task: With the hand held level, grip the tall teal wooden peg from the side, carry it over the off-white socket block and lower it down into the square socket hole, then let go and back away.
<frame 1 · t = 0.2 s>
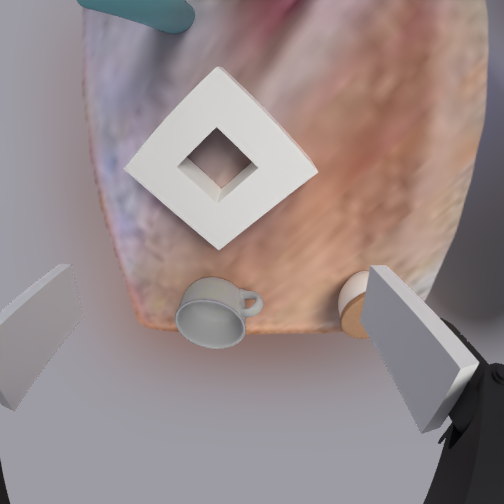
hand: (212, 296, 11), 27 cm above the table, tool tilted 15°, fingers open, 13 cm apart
teacup: (224, 289, 48), on the table
lidded jar: (361, 283, 47), on the table
peg: (176, 17, 24), on the table
socket block: (221, 155, 34), on the table
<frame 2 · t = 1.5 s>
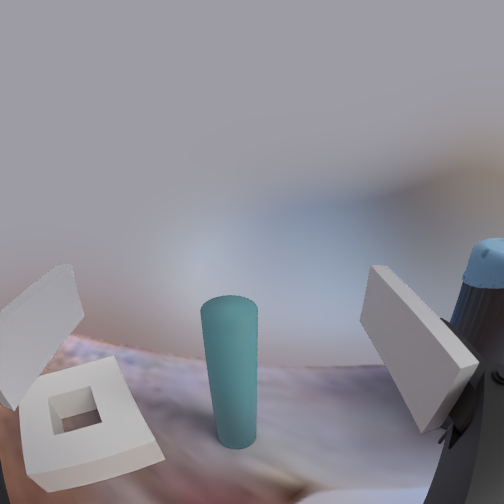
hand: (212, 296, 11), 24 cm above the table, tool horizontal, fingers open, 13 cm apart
peg: (236, 434, 29), on the table
socket block: (86, 430, 26), on the table
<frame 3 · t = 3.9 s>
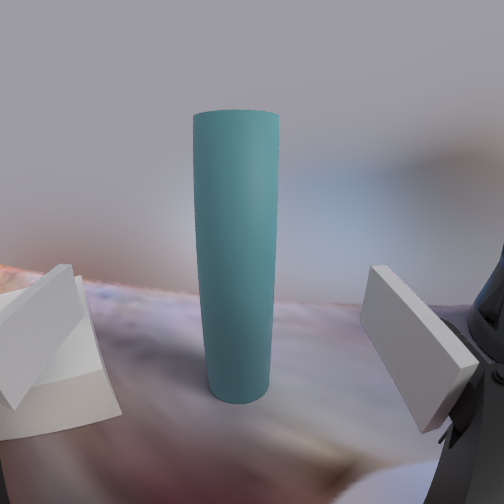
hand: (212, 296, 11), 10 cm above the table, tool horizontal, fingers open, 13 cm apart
peg: (238, 382, 20), on the table
socket block: (26, 369, 18), on the table
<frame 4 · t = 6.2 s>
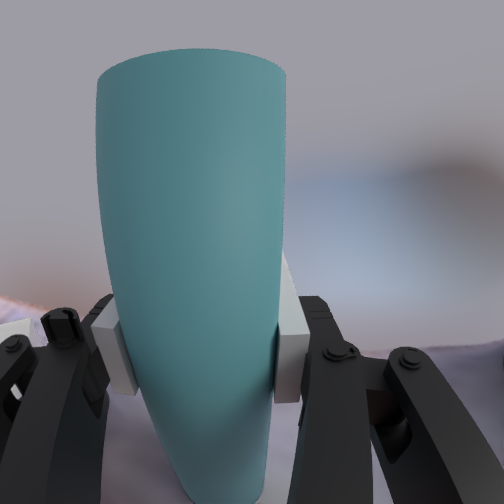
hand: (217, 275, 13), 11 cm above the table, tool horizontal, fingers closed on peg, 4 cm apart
peg: (223, 481, 12), on the table, touching gripper
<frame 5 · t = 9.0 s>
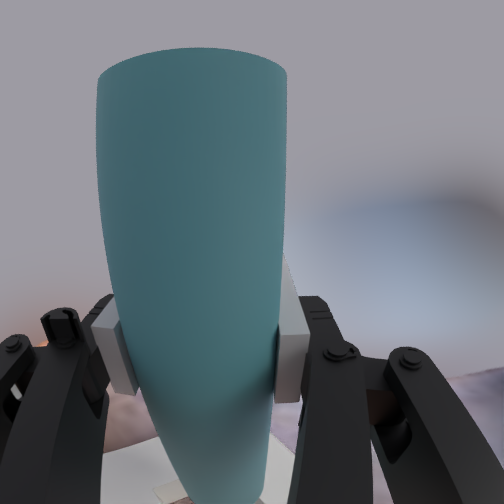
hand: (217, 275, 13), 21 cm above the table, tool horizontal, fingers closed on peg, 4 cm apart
peg: (223, 481, 12), point 10 cm above the table, touching gripper
when the fingers open (12 cm above the table, at t = 12.1 s): peg drops 1 cm, resting in socket block.
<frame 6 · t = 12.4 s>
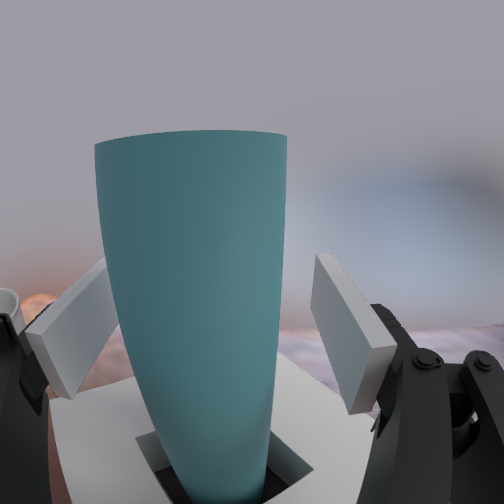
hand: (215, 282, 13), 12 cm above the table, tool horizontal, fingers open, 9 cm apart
peg: (225, 490, 12), resting in socket block
socket block: (224, 489, 12), on the table
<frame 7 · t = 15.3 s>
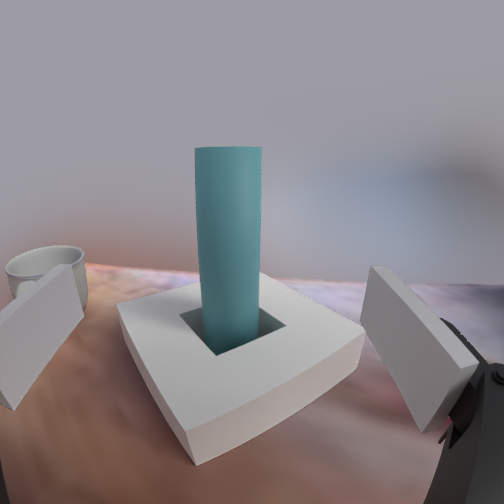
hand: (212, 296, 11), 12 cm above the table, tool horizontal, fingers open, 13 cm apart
teacup: (54, 323, 28), on the table
peg: (232, 361, 25), resting in socket block
socket block: (232, 361, 25), on the table
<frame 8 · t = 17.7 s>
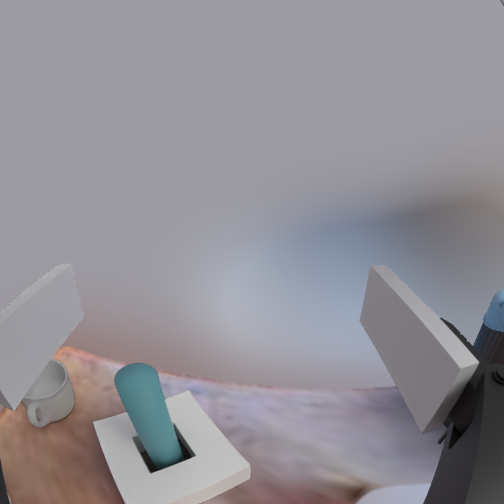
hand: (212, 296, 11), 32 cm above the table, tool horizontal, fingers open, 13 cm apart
teacup: (54, 414, 33), on the table
peg: (169, 462, 30), resting in socket block
socket block: (169, 461, 30), on the table
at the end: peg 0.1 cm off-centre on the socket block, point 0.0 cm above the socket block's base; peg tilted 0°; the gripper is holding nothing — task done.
